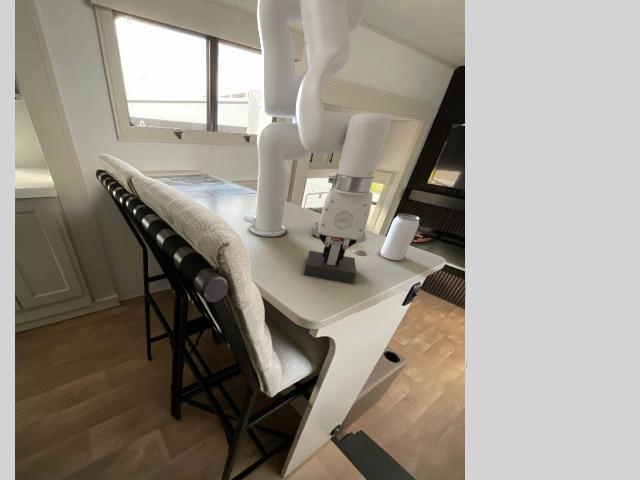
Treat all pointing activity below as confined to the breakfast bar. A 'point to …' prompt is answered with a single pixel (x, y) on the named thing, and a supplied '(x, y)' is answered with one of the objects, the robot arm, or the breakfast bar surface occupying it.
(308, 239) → the breakfast bar surface
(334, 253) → the timer knob
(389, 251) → the can
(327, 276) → the panel
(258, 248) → the breakfast bar surface
